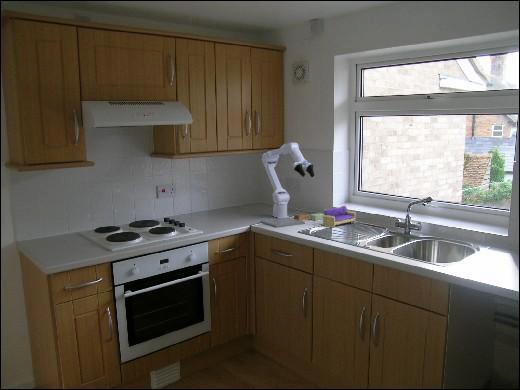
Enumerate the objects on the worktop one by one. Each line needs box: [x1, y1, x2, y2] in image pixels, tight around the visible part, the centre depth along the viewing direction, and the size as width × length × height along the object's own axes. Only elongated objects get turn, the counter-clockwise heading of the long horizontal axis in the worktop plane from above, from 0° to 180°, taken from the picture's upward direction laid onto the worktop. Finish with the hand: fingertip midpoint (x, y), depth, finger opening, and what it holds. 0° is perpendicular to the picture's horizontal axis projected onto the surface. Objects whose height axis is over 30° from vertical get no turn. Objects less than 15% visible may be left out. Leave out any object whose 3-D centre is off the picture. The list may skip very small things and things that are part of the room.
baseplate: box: [260, 216, 305, 228], centre depth 275 cm, size 18×20×1 cm
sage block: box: [309, 212, 324, 222], centre depth 285 cm, size 6×8×4 cm
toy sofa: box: [322, 205, 357, 229], centre depth 269 cm, size 21×9×10 cm, turn 130°
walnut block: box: [293, 213, 311, 222], centre depth 285 cm, size 6×8×4 cm
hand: (308, 176), depth 267 cm, fingers open, 7 cm apart
